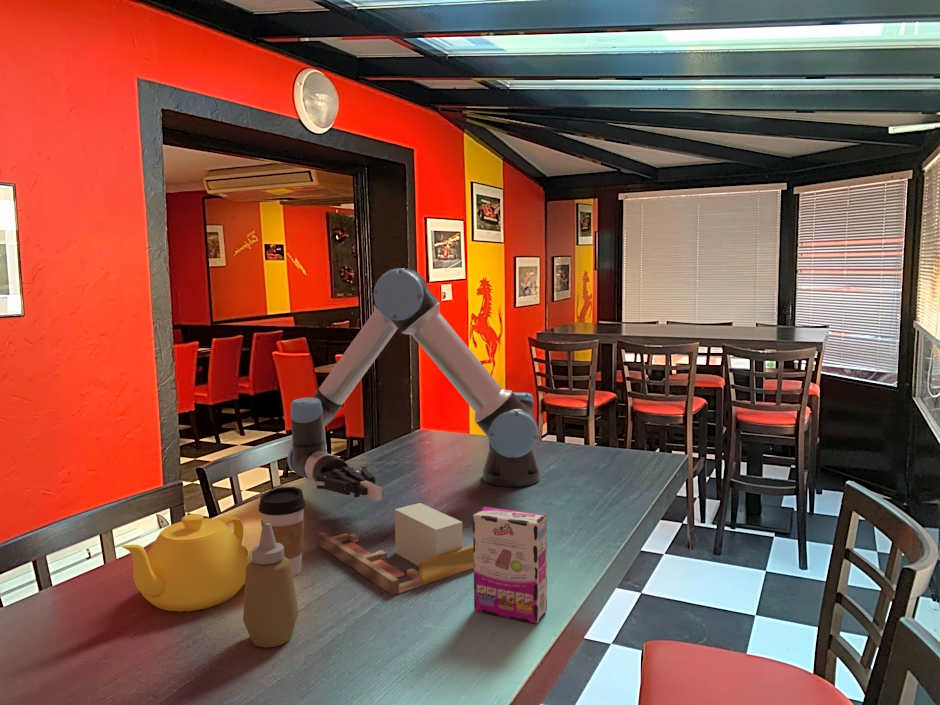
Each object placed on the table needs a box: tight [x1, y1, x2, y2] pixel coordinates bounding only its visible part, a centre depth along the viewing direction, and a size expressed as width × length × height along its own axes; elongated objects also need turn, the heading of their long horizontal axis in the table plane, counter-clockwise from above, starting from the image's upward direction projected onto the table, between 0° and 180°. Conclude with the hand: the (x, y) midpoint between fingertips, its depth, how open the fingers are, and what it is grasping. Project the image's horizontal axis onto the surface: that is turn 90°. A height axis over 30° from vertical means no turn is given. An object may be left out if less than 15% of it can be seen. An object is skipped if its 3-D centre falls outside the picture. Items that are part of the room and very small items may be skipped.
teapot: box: [121, 513, 250, 613], centre depth 122 cm, size 25×18×14 cm
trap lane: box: [318, 531, 474, 596], centre depth 138 cm, size 28×20×4 cm
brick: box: [394, 502, 464, 567], centre depth 135 cm, size 14×6×9 cm, turn 38°
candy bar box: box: [472, 506, 548, 624], centre depth 114 cm, size 11×5×16 cm, turn 65°
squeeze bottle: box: [242, 523, 299, 649], centre depth 107 cm, size 8×8×18 cm
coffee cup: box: [258, 486, 306, 577], centre depth 130 cm, size 8×8×15 cm
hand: (378, 494), depth 148 cm, fingers closed
